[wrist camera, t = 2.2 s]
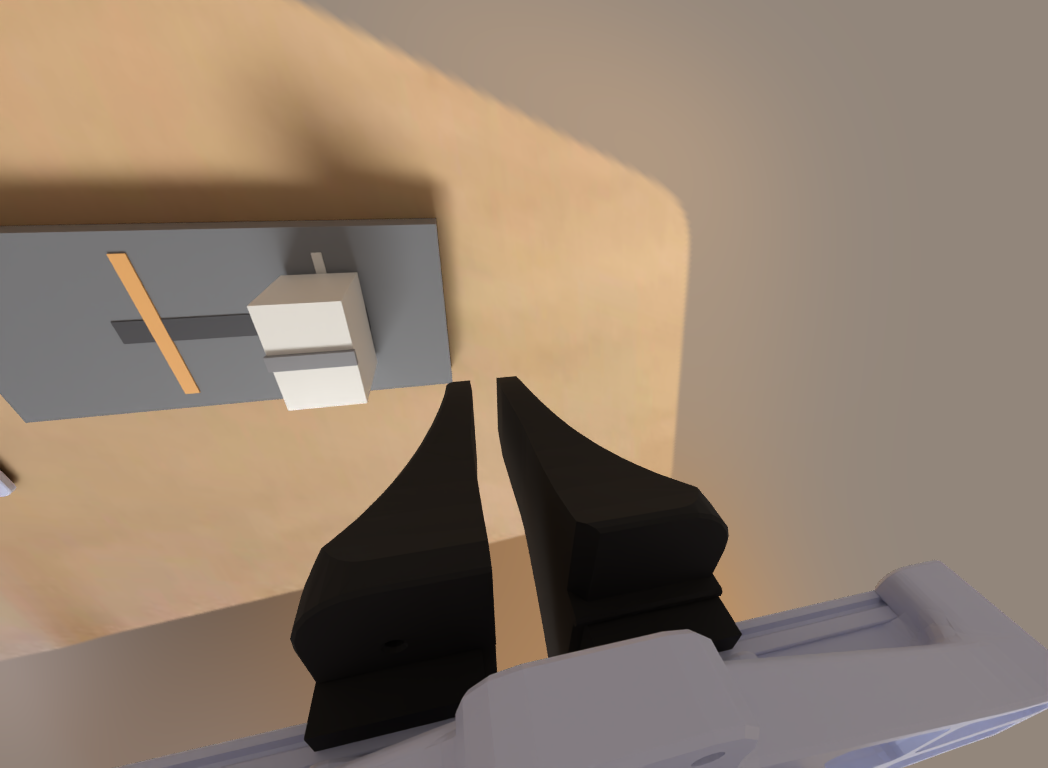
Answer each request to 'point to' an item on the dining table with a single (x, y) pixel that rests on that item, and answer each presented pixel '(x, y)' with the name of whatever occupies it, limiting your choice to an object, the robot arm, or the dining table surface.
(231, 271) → the console
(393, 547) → the robot arm
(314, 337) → the block
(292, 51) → the dining table surface
